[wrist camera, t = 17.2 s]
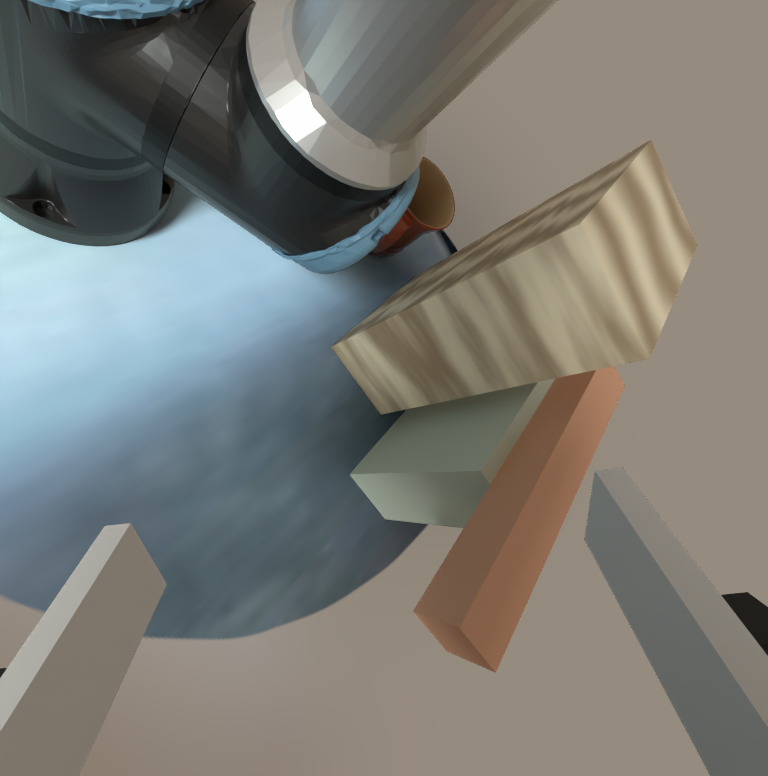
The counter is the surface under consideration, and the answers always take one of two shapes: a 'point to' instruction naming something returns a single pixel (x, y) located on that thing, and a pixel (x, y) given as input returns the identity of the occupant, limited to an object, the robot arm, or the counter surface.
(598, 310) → the stand
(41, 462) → the counter surface
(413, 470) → the post low
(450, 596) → the batten
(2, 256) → the counter surface
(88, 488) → the counter surface
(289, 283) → the counter surface
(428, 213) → the mug
